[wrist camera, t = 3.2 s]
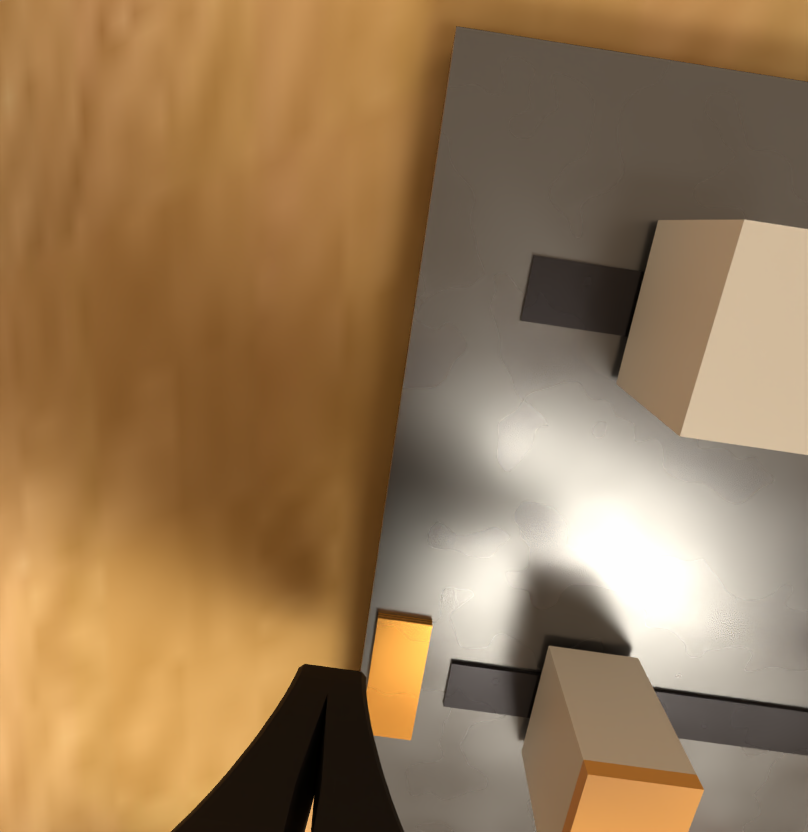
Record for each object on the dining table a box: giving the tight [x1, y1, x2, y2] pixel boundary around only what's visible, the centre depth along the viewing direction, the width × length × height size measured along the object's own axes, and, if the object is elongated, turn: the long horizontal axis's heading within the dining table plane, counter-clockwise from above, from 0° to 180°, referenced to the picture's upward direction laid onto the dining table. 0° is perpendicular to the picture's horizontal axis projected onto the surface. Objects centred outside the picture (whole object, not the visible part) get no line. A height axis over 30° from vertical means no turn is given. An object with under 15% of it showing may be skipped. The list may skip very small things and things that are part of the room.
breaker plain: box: [616, 219, 808, 455], centre depth 10 cm, size 2×3×3 cm, turn 172°
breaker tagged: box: [521, 646, 704, 832], centre depth 12 cm, size 2×3×3 cm, turn 171°
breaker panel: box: [360, 26, 808, 832], centre depth 14 cm, size 14×18×2 cm
